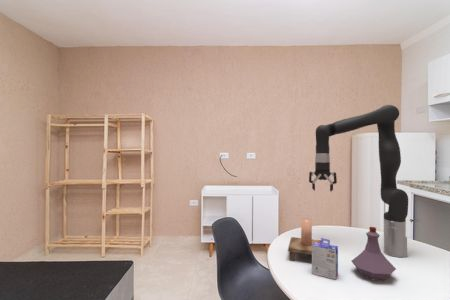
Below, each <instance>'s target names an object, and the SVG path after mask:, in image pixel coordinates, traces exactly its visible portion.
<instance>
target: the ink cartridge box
mask: <svg viewBox="0 0 450 300" xmlns="http://www.w3.org/2000/svg"><path fill="white" fill-rule="evenodd" d="M320 240H321V243H316V242H315V243H314V244H313V245H312V254H311V274H313V275H316V276H320V277H324V278H329V279H332V280H337V277H338V276H339V246H338V245H333V244H330V243H331V241H330V239H328V238H327V239H326V238H323V237H322V238H321V239H320ZM322 241H323V242H322ZM324 241H325V242H324Z"/></svg>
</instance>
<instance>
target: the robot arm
mask: <svg viewBox="0 0 450 300" xmlns="http://www.w3.org/2000/svg"><path fill="white" fill-rule="evenodd" d="M399 116H400V109H398V107H396V106H395V105H391V104H385V105H383V106H381V107H379V108H378V109H375V110H373V111H370V112H367V113H363V114H361V115H357V116H351V117H348V118H343V119H340V120H337V121H334V122H332V123H329V124H325V125H324V124H320V125H318V126H317V127H316V128H315V157H314V158H315V159H314V166H315V168H314V169H315V171H309V173H308V182H309V183H311V187H312V188H311V189H312V190H313V191H314V192H315V191H316V183H317V181H318V180H319V181H322V180H323V181H326V180H327V182H329V191H330V192H333V191H334V185H335V184H337V183H338V180H337V173H336V172H335V171H334V172H331V169H330V168H331V157H330V137H332V136H335V135H341V134H345V133H348V132H352V131H355V130H359V129H362V128H365V127H367V126H368V127H369V126H373V125H376V127H377V132H378V160H379V169H380V199H381V201H382V202H383V203H384V204H385V205H388V210H387V211H385V212H384V214H383V253H384V254H386V255H388V256H392V257H395V258H407V257H408V237H407V235H406V234H407V233H406V232H407V231H406V230H407V229H406V228H407V227H406V225H407V223H406V220H407V219H406V218H407V217H408V214H409V196H408V194H407V192H406V191H405V190H404V189H400V188H398V187H397V174H398V171H399V170H400V166H401V164H402V157H401V155H402V154H401V148H400V144H399V141H398V138H397V136H396V130H395V128H396V127H395V126H396V125H395V122H396V121H397V120H398V118H399ZM312 176H315V178H314V179H313V180H312ZM331 176H332V177H333V181H332V180H331V178H330V177H331Z"/></svg>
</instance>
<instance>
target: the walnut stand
mask: <svg viewBox="0 0 450 300" xmlns="http://www.w3.org/2000/svg"><path fill="white" fill-rule="evenodd" d="M315 242H316V243H321V239H320V240H319V239H313V238H312V245H313V244H314V243H315ZM322 242H324V241H322ZM312 245H311V246H304V245H302V244H301V237H295V236H294V237H293V236H291V237H290V240H289V245H288V248H287V251H288V252H289V253H288V254H289V256H288V257H289V261H292V262H294V261H295V253H299V254H306V255H312Z"/></svg>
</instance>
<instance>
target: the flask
mask: <svg viewBox="0 0 450 300" xmlns="http://www.w3.org/2000/svg"><path fill="white" fill-rule="evenodd" d="M368 230H369V231H367V232H366V233H365V235H366V236H367V241H366V245H365V247H364V250H362V251H361V253H359V254H358V255H357V256H355V257H354V258H353V259H352V260H351V263H352V264H353V265H354V266H355V268H356V269H357V270H358V272H359V273H360V274H361V275H362V276H363V277H364V278H366V279H370V280H372V281H384V280H386V279H387V278H388V277H389V276H391V275H392V274H393V273H394V272H396V270H397V268H396V267H395V266H394V265H393V264H392V263H391V262H390V260H388V259H387V258H386V257H385V255H384V254H383V253H382V250H381V247H380V244H379V238H380V234H379V233H378V232H377V227H374V226H369V229H368Z"/></svg>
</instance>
